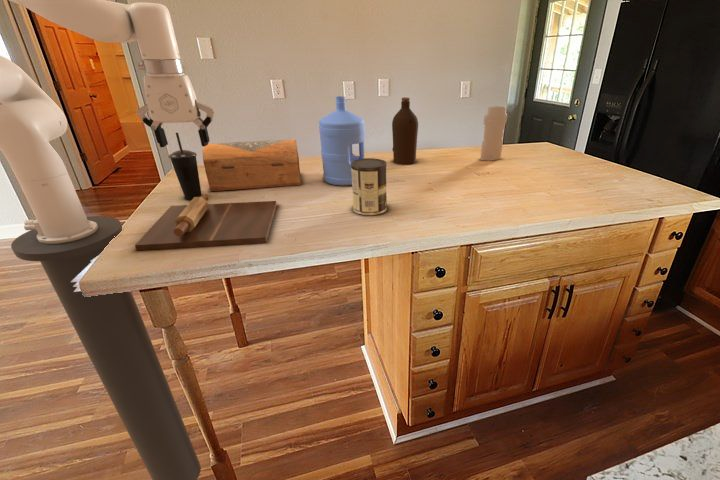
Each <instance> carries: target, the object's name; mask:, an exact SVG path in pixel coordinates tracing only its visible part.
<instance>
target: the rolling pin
mask: <svg viewBox="0 0 720 480" xmlns="http://www.w3.org/2000/svg"><path fill="white" fill-rule="evenodd" d="M208 201H209V197H208V195H207V194H202V195H201V196H200V197H194V198H193V199H192V200H190V201H189V203H188V204H186V205H187V207H186V208H185V209H184V210H183V211H182V213H181V214H180V215H179V216H178V217H177V219H176V220H175V225H176V228H175V229H174V231H173V232H174V234H175V235H176V236H182V235H183V234H184V233H185V232H191V231H192V230H193V229H194V227H195V226H196V225H197V223H198V222H199V220H200V219H201V217H202V216H203V215H204V213H205V212H206V210H207V209H208V207H209V206H208V204H209V203H208Z"/></svg>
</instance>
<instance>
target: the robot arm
mask: <svg viewBox="0 0 720 480" xmlns="http://www.w3.org/2000/svg"><path fill="white" fill-rule="evenodd" d="M8 1H9V2H12V3H14V4H17V5H19V6H21V7H23V8H26V9H27V10H29V11H31V12H32V13H34V14H36V15H38V16H40V17H42V18H44V19H45V20H47V21H49V22H51V23H53V24H56V25H58V26H60V27H63V28H65V29H67V30H70V31H72V32H74V33H76V34H79V35H81V36H83V37H86V38H89V39H92V40H94V41H97V42H101V43H107V44H108V43H109V44H110V43H111V44H112V43H118V44H119V43H121V44H122V43H134V42H137V43H138V47H139V51H140V54H141V58H142V61H141V62H137V66H138V69H139V70H143V71H145V73H146V75H143V87H144V95H145V99H146V104H144V105H142V106H141V107H139V108H138V109H136V110H135V113H136V115H137V116H138V117H139V119H140V120H142V122H143V123H144V125H146V126H147V127H149V128H150V129H151V131H153V132H154V136H155V140H156V142H157V144H158V146H159V147H160V148H165V147H166V146H168V145H169V141H168V139H167V135H166V132H165V129H164V128H163V127H162V126H163V124H166V123H167V124H168V123H169V124H173V123H175V124H176V123H194V124H195V125H196V126H197V127H198V130H197V132H198V136H199V139H200V144H201V147H204V146H206V145H208V144H209V143H210V136H209V131H208V127H209V125H210V124H211V123H212V122H213V118H214V115H215V112H216V110H215V109H214V108H213V107H211V106H209V105H207V104H204V103H202V102H200V101H199V100H198V98H197V95H196V92H195V89H194V87H193V84H192V81H191V79H190V77H189V75H188V74H185V71H184V67H183V63H182V59H181V55H180V50H179V46H178V45H179V44H178V41H177V38H176V32H175V29H174V25H173V21H172V17H171V13H170V11H169V9H168V7H167V6H166V5H164V4H162V3H158V2H142V1H141V2H138V1H137V2H132V3H131V4H128V3H127V4H126V3H121V2H117V1H113V0H112V1H111V0H8ZM201 111H203V112H205V113H206V115H205V118H203V117H202V114H201ZM147 112H148V113H149V116H148V114H147ZM67 130H68V119H67V117H66V115H65V113H64V112H63V110H62V109H61V107H59V106H58V104H57V103H56V102H55V101H54V100H53V99H52V98H51V97H50V96H49V95H48V93H46V92H45V91H44V90H43V88H42V87H40V86H39V84H37V82H35V80H34V79H32V77H31V76H30V75H28V74H27V72H25V70H23V69H22V68H21V67H20V66H19V65H18V64H16V63H15V62H13V61H12V60H10V59H8V58H7V57H5V56H2V55H0V152H1V153H2V155H3V156H4V158H5V159H6V161H7V163H8V165H9V167H10V168H11V170H12V173H13V174H14V176H15V178H16V180H17V182H18V184H19V186H20V189H21V190H22V193H23V194H24V197H25V198H26V200H27V203H28V204H29V207H30V209H31V211H32V213H33V215H34V217H35V219H26V220H24V226H23V228H24V230H25V231H30V230H37V232H38V234H37V239H38V241H39V242H41V243H45V244H60V243H66V242H71V241H76V240H79V239H82V238H85V237H87V236H90V235H91V234H93V233H95V232H96V231H97V230H98V225H97V223H96V222H93V221H88V220H87V217H88V216H87V215H86V212H85V210H84V208H83V205H82V203H81V200H80V198H79V196H78V193H77V191H76V188H75V187H74V184H73V182H72V181H73V180H72V179H71V176H70V174H69V172H68V170H67V167H66V165H65V163H64V161H63V159H62V158H61V156H60V154H59V153H58V152H57V150H55V148H54V147H53V146H52V145H51V143H50V142H51V141H53V140H56V139H58V138H60V137H62V136H63V135H65V133H66V132H67Z"/></svg>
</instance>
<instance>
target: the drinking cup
mask: <svg viewBox="0 0 720 480" xmlns="http://www.w3.org/2000/svg"><path fill="white" fill-rule="evenodd" d="M175 135H176V140H177V145H178V148H179V150H175V151H173V152H172V153H171V154H168V159H169V160H170V162H171V165H172V167H173V170H174V172H175V175H176V178H177V181H178V183H179V186H180V188H181V192H182V195H183V197H184V199H185V200H188V201H191V200H192V199H193V198H194V197H200V196H201V195H203V194H202V188H201V182H200V181H201V180H200V173H199V167H198V160H197V155H198V154H197V152H195V151H191V150H188V149H183V146H182V142H181V139H180V136H179V132H175Z"/></svg>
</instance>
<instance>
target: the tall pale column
mask: <svg viewBox="0 0 720 480" xmlns="http://www.w3.org/2000/svg"><path fill="white" fill-rule="evenodd" d="M506 111H507V110H506V106H505V105H499V104H495V105H492V106H488V108H487V112H486V113H485V114H484V117H483V126H484V127H483V129H484V130H483V139H482V142H481V150H480V157H479V158H480V159H479V160H480V161H496V160H501V158H502V151H503V144H504V140H503V137H504V132H505V127H506V126H505V125H506V124H507V121H508V120H507V119H508V113H507V112H506Z"/></svg>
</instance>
